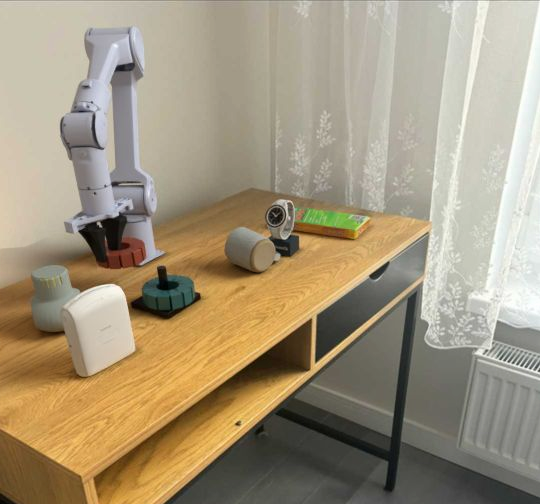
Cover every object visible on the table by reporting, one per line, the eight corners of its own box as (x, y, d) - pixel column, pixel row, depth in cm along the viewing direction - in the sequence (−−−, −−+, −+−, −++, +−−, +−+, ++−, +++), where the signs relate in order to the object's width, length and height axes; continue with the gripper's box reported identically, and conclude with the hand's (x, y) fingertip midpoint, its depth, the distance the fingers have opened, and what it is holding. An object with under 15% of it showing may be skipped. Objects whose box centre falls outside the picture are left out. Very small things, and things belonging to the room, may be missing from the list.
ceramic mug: (252, 279, 119) (250, 241, 115) (225, 268, 124) (222, 231, 120) (290, 263, 125) (289, 227, 122) (262, 253, 131) (261, 218, 127)
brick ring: (86, 263, 115) (83, 250, 114) (121, 246, 121) (119, 234, 120) (121, 272, 110) (119, 259, 109) (156, 255, 117) (154, 242, 116)
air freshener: (35, 315, 110) (21, 264, 105) (82, 306, 112) (70, 255, 107) (39, 343, 101) (24, 289, 96) (90, 332, 103) (78, 279, 98)
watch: (263, 256, 129) (260, 205, 123) (280, 242, 135) (278, 194, 129) (286, 260, 127) (285, 208, 121) (303, 246, 133) (302, 196, 127)
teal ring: (133, 303, 110) (131, 290, 108) (166, 283, 116) (165, 271, 115) (172, 314, 105) (170, 301, 104) (205, 293, 112) (203, 280, 111)
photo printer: (86, 381, 91) (69, 307, 84) (70, 371, 93) (51, 299, 87) (140, 352, 97) (128, 281, 91) (123, 343, 100) (110, 274, 93)
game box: (354, 243, 135) (272, 226, 143) (369, 229, 142) (290, 214, 150) (355, 230, 133) (272, 214, 141) (370, 216, 141) (291, 202, 149)
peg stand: (131, 307, 111) (124, 271, 107) (164, 288, 117) (159, 253, 113) (168, 319, 107) (163, 281, 103) (201, 298, 113) (197, 262, 109)
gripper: (78, 200, 99) (94, 276, 106) (140, 177, 109) (151, 248, 116) (49, 194, 102) (66, 269, 109) (112, 172, 112) (124, 242, 120)
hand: (108, 258), depth 113 cm, fingers closed on brick ring, 3 cm apart
